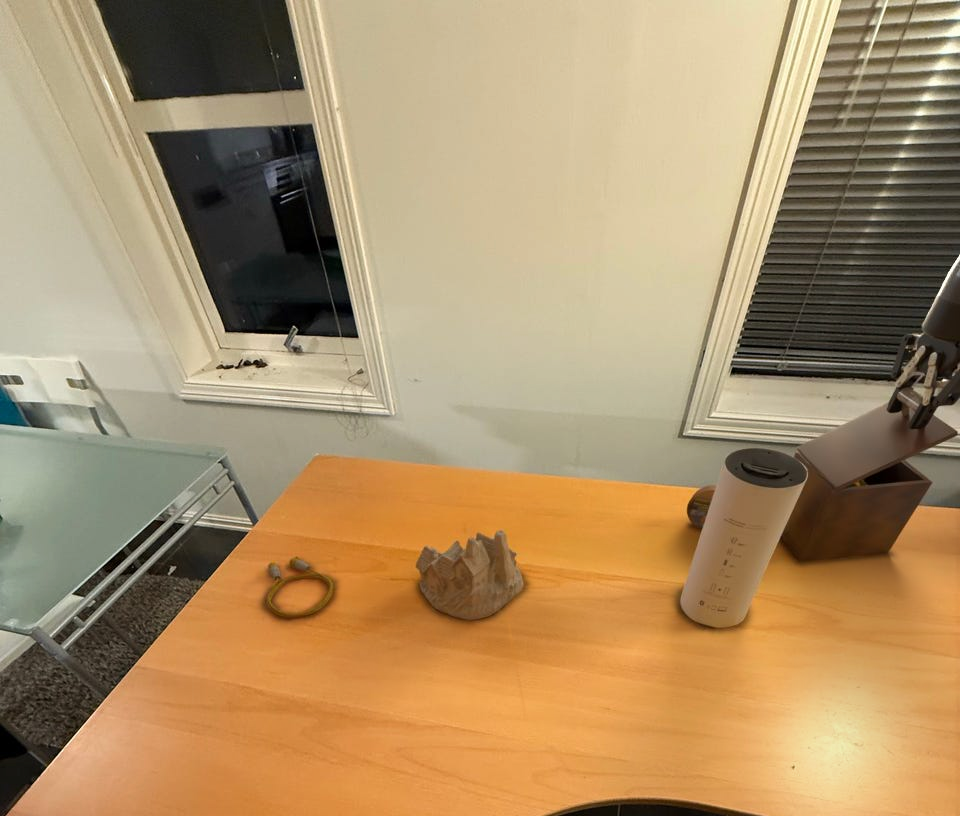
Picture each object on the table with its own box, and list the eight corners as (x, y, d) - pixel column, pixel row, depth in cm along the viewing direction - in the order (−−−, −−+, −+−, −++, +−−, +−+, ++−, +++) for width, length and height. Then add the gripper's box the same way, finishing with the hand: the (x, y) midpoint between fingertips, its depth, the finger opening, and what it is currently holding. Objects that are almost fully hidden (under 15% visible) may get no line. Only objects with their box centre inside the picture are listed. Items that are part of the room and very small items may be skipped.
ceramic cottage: (536, 586, 95) (531, 513, 84) (463, 635, 89) (448, 562, 78) (480, 550, 104) (469, 480, 93) (411, 592, 98) (390, 522, 87)
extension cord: (335, 558, 104) (333, 549, 102) (332, 614, 93) (329, 606, 92) (271, 566, 103) (267, 558, 101) (260, 624, 92) (256, 616, 91)
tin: (682, 525, 105) (692, 486, 99) (686, 516, 107) (696, 478, 101) (764, 544, 100) (781, 505, 94) (767, 535, 102) (783, 495, 95)
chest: (847, 513, 105) (884, 443, 94) (887, 554, 96) (933, 482, 86) (767, 521, 104) (795, 451, 94) (800, 563, 96) (835, 491, 85)
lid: (903, 398, 88) (904, 369, 85) (957, 435, 80) (960, 404, 76) (797, 450, 94) (793, 425, 90) (836, 491, 85) (834, 464, 82)
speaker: (756, 603, 90) (821, 457, 70) (731, 640, 84) (794, 494, 65) (695, 578, 95) (740, 436, 75) (668, 612, 89) (709, 468, 70)
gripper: (911, 281, 76) (854, 401, 89) (984, 314, 67) (909, 444, 79) (962, 277, 77) (898, 398, 89) (1042, 309, 67) (958, 440, 79)
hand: (904, 419), depth 84 cm, fingers closed on lid, 5 cm apart
